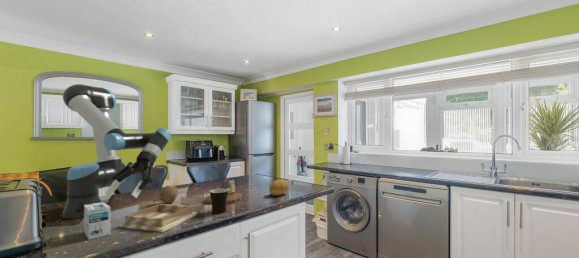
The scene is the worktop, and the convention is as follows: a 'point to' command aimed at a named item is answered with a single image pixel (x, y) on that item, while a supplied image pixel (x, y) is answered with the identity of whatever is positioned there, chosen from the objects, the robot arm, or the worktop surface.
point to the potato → (278, 187)
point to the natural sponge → (168, 194)
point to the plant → (232, 196)
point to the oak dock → (158, 217)
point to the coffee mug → (219, 200)
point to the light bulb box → (96, 220)
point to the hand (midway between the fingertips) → (120, 195)
